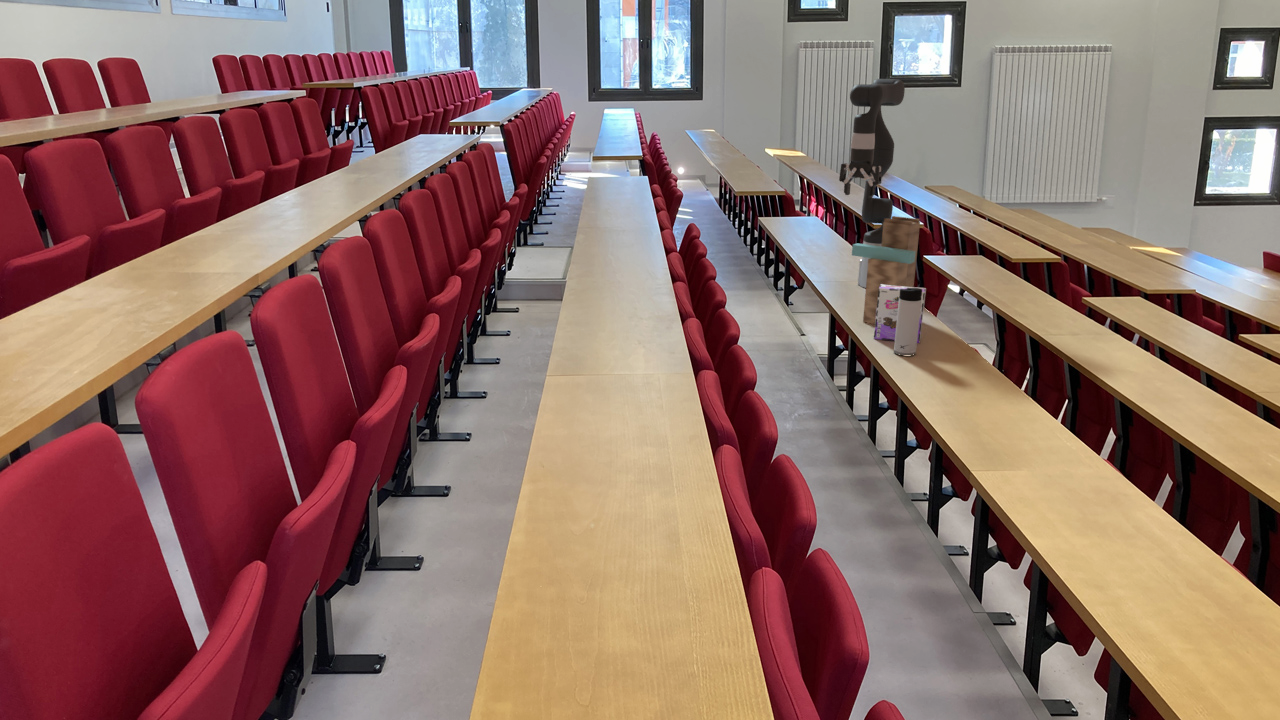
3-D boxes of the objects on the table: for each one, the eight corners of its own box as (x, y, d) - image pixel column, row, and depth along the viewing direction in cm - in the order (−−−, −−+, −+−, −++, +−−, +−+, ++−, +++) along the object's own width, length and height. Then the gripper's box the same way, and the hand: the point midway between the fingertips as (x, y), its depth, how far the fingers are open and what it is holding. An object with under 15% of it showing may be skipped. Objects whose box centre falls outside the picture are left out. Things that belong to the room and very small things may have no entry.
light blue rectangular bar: (851, 255, 299) (852, 244, 298) (856, 253, 301) (857, 243, 300) (909, 263, 287) (911, 252, 286) (914, 262, 289) (915, 251, 288)
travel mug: (903, 358, 264) (910, 291, 257) (889, 351, 270) (895, 286, 263) (921, 355, 266) (928, 289, 260) (906, 349, 272) (912, 284, 266)
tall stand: (875, 317, 305) (883, 219, 295) (885, 312, 311) (894, 215, 301) (900, 322, 300) (910, 222, 289) (910, 317, 306) (920, 218, 295)
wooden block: (863, 322, 300) (868, 259, 293) (873, 317, 305) (879, 255, 299) (891, 327, 294) (897, 263, 287) (902, 322, 300) (908, 259, 293)
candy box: (873, 339, 281) (877, 287, 276) (875, 334, 287) (879, 283, 282) (919, 344, 277) (925, 291, 272) (920, 338, 282) (926, 287, 277)
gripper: (887, 147, 301) (883, 196, 307) (848, 144, 310) (844, 192, 315) (877, 149, 296) (873, 199, 301) (838, 146, 304) (834, 195, 309)
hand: (858, 196), depth 308 cm, fingers open, 8 cm apart
